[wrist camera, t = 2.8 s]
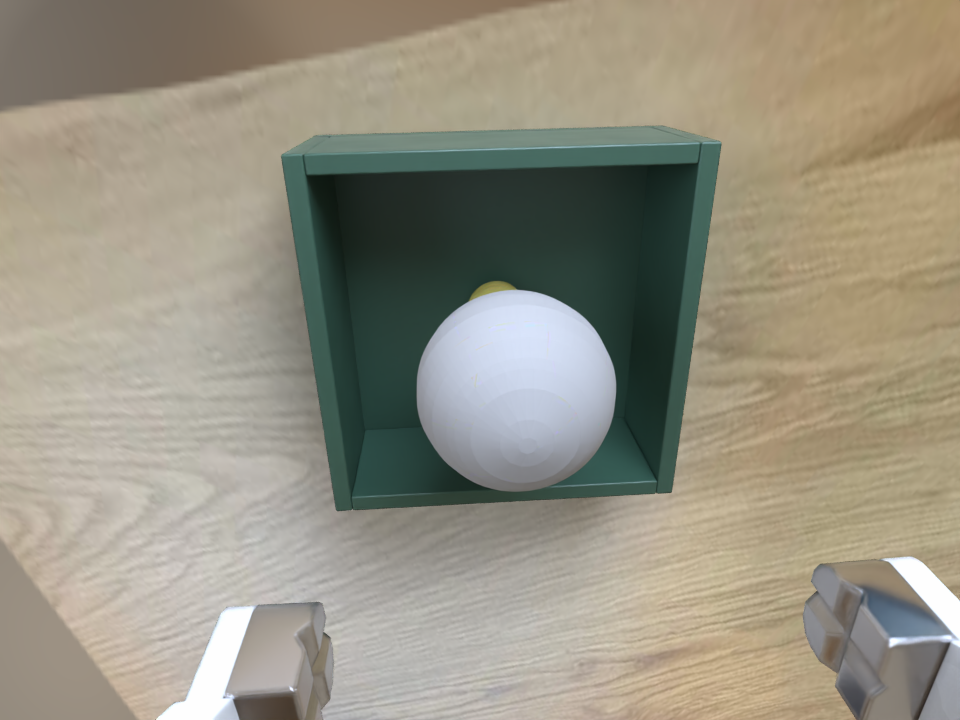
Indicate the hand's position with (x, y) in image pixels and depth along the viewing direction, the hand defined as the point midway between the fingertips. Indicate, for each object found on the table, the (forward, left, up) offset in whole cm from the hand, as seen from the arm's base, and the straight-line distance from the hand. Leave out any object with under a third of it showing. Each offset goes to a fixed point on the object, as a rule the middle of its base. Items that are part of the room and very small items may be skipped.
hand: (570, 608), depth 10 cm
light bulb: (0, 0, -15) cm, 15 cm away
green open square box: (0, 0, -15) cm, 15 cm away
